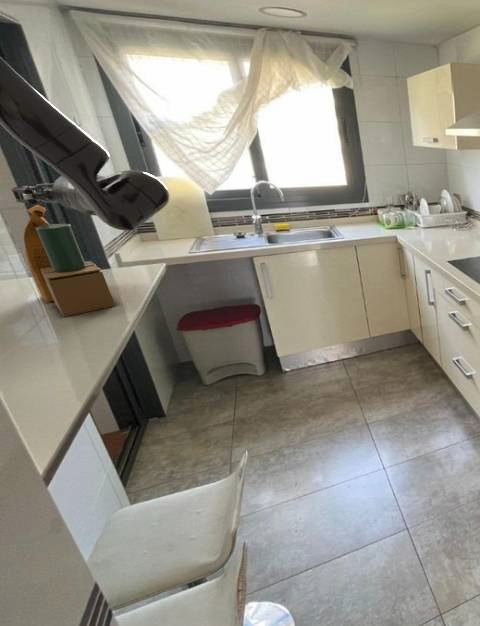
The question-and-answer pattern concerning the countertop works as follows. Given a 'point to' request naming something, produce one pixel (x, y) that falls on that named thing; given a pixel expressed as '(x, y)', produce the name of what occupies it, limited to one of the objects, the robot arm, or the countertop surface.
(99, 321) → the countertop surface
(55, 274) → the flap
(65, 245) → the tea tin
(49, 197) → the robot arm
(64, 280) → the carton
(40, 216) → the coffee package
